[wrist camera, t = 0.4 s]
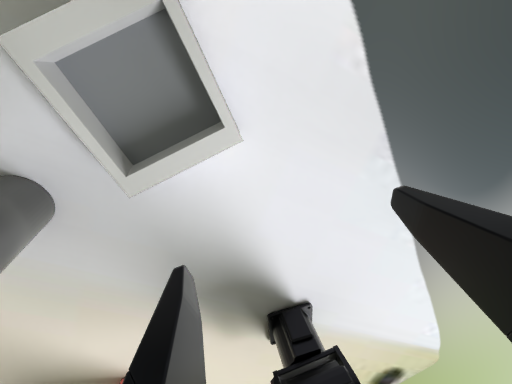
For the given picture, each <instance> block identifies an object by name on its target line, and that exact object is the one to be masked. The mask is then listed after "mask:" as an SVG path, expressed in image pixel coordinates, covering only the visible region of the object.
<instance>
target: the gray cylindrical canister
mask: <svg viewBox="0 0 512 384" xmlns="http://www.w3.org/2000/svg"><path fill="white" fill-rule="evenodd" d="M54 213H55V204H54V201H53V199H52V197H51V195H50V194H49V193H48V192H47V191H46V190H45V189H44V188H43V187H42V186H40V185H39V184H37V183H35V182H33V181H31V180H29V179H26V178H23V177H18V176H10V175H5V176H0V273H1V272H2V271H3V270H4V269H5V268H6V267H7V266H8V265H9V264H10V263H11V262H12V260H13V259H14V258H15V257H16V256H17V255H18V254H19V253H20V252H21V251H22V250H23V249H24V248H25V247H26V246H27V245H28V244H29V242H30V241H31V240H32V239H33V238H34V237H35V236H36V235H37V234H38V233H39V232H40V231H41V230H42V229H43V228H44V227H45V225H46V224H47V223H48V222H49V221H50V220H51V219H52V217H53V215H54Z"/></svg>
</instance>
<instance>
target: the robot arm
mask: <svg viewBox="0 0 512 384" xmlns="http://www.w3.org/2000/svg"><path fill="white" fill-rule="evenodd" d="M391 206H392V208H393V210H394V211H395V212H396V214H397V215H398V216H399V218H400V219H401V220H402V222H403V223H404V224H405V226H406V227H407V228H408V230H409V231H410V232H411V234H412V235H413V236H414V237H415V238H416V240H417V241H418V242H419V243H420V244H421V245H422V246H423V247H424V248H425V249H426V250H427V252H429V254H430V255H431V256H432V257H433V258H434V259H435V260H436V261H437V262H438V263H439V264H440V266H442V268H443V269H444V270H445V271H446V272H447V273H448V274H449V275H450V276H451V277H452V278H453V279H454V281H455V282H456V283H457V284H458V285H459V286H460V287H461V288H462V289H463V290H464V291H465V292H466V293H467V294H468V296H469V297H470V298H471V299H472V300H473V301H474V302H475V303H476V304H477V305H478V306H479V308H480V309H481V310H482V311H483V312H484V313H485V314H486V315H487V316H488V317H489V318H490V319H491V320H492V322H493V323H494V324H495V325H496V326H497V327H498V328H499V329H500V330H501V331H502V332H503V333H504V335H506V336H507V338H508V339H509V340H510V341H511V342H512V216H509V215H506V214H502V213H499V212H495V211H492V210H488V209H485V208H481V207H478V206H474V205H470V204H467V203H464V202H460V201H457V200H453V199H450V198H446V197H442V196H439V195H436V194H432V193H429V192H425V191H422V190H418V189H414V188H411V187H408V186H400V187H398V188H395V189H394V190H393V194H392V199H391ZM267 318H268V328H269V337H270V343H271V344H272V345H274V344H276V345H277V348H278V352H279V355H280V358H281V361H282V364H283V369H281V370H278V371H277V370H276V371H274V372H273V375H274V377H273V379H272V380H271V384H360V382H359V380H358V378H357V376H356V374H355V373H354V371H353V370H352V368H351V366H350V365H349V363H348V362H347V360H346V359H345V357H344V355H343V354H342V352H341V351H340V349H339V348H338V346H337V345H336V346H333V348H331V349H328V350H326V351H325V349H324V347H323V345H322V343H321V341H320V339H319V337H318V335H317V333H316V331H315V329H314V326H313V324H312V305H311V303H306V304H303V305H299V306H296V307H292V308H289V309H285V310H282V311H278V312H275V313H271V314H269V315H268V316H267ZM122 384H206V377H205V363H204V348H203V334H202V322H201V315H200V309H199V304H198V299H197V293H196V288H195V283H194V279H193V276H192V275H191V273H190V272H189V270H188V269H187V267H186V266H185V265H182V266H179V267H176V268H174V269H173V271H172V273H171V276H170V278H169V280H168V282H167V285H166V287H165V289H164V291H163V294H162V296H161V298H160V300H159V302H158V305H157V307H156V309H155V311H154V314H153V316H152V318H151V320H150V323H149V325H148V327H147V329H146V332H145V334H144V336H143V338H142V340H141V343H140V345H139V347H138V349H137V352H136V354H135V356H134V358H133V361H132V363H131V365H130V367H129V371H128V372H127V374H126V376H125V378H124V380H123V383H122Z"/></svg>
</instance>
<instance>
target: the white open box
mask: <svg viewBox="0 0 512 384" xmlns="http://www.w3.org/2000/svg"><path fill="white" fill-rule="evenodd" d="M0 45H1V46H2V47H3V48H4V50H5V51H6V52H7V53H8V54H9V55H10V57H11V58H12V59H13V60H14V61H15V63H16V64H17V65H18V66H19V67H20V69H21V70H22V71H23V72H24V73H25V75H26V76H27V77H28V78H29V79H30V80H31V82H32V83H33V84H34V85H35V86H36V88H37V89H38V90H39V91H40V92H41V94H42V95H43V96H44V97H45V98H46V100H47V101H48V102H49V103H50V104H51V106H52V107H53V108H54V109H55V110H56V111H57V113H58V114H59V115H60V116H61V117H62V119H63V120H64V121H65V122H66V123H67V125H68V126H69V127H70V128H71V129H72V131H73V132H74V133H75V134H76V135H77V136H78V138H79V139H80V140H81V141H82V142H83V144H84V145H85V146H86V147H87V148H88V150H89V151H90V152H91V153H92V154H93V156H94V157H95V158H96V159H97V160H98V161H99V163H100V164H101V165H102V166H103V167H104V169H105V170H106V171H107V172H108V173H109V175H110V176H111V177H112V178H113V179H114V181H115V182H116V183H117V184H118V185H119V186H120V188H121V189H122V190H123V191H124V192H125V194H126V195H127V196H128V197H129V198H131V197H133V196H135V195H137V194H139V193H141V192H143V191H145V190H147V189H149V188H151V187H153V186H155V185H157V184H159V183H161V182H163V181H165V180H167V179H169V178H171V177H173V176H175V175H177V174H178V173H180V172H182V171H184V170H186V169H188V168H190V167H192V166H194V165H196V164H198V163H200V162H202V161H204V160H206V159H208V158H210V157H212V156H214V155H216V154H218V153H220V152H222V151H224V150H226V149H228V148H230V147H232V146H234V145H236V144H238V143H240V142H242V141H243V139H242V137H241V135H240V132H239V130H238V127H237V125H236V123H235V121H234V119H233V117H232V114H231V112H230V110H229V108H228V106H227V104H226V102H225V99H224V97H223V95H222V93H221V91H220V89H219V86H218V84H217V82H216V80H215V78H214V76H213V73H212V71H211V69H210V67H209V65H208V63H207V61H206V58H205V56H204V54H203V52H202V50H201V48H200V45H199V43H198V41H197V39H196V37H195V35H194V33H193V30H192V28H191V26H190V24H189V22H188V20H187V17H186V15H185V13H184V11H183V9H182V7H181V5H180V2H179V0H72V1H70V2H68V3H66V4H64V5H62V6H60V7H57V8H55V9H53V10H51V11H49V12H47V13H45V14H43V15H41V16H39V17H37V18H35V19H33V20H31V21H29V22H26V23H24V24H22V25H20V26H18V27H16V28H14V29H12V30H10V31H8V32H6V33H4V34H2V35H0Z"/></svg>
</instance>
